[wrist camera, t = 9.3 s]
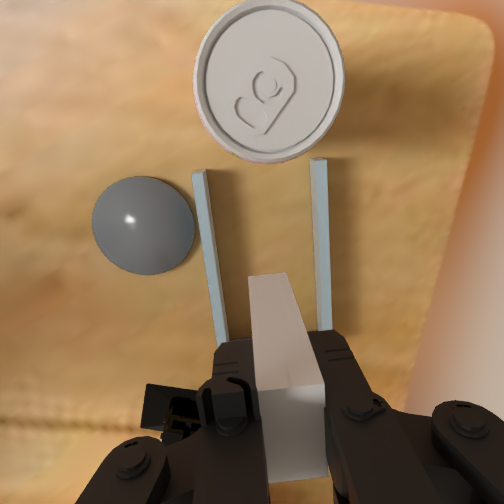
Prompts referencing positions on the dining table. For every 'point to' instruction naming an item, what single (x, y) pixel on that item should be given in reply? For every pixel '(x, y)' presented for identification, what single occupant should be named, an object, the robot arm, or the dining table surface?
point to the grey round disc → (143, 225)
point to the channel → (319, 238)
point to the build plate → (170, 412)
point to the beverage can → (268, 80)
